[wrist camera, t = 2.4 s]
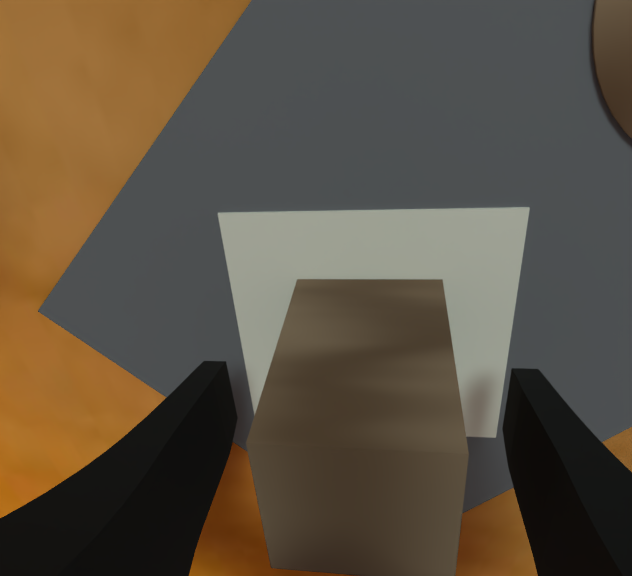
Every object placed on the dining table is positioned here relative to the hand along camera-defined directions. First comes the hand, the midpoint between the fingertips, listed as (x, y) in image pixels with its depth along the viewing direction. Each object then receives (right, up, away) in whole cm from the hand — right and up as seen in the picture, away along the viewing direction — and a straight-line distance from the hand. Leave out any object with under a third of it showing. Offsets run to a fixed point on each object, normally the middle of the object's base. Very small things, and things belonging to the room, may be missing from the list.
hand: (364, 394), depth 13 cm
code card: (0, +1, +2) cm, 3 cm away
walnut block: (0, +1, +2) cm, 3 cm away
